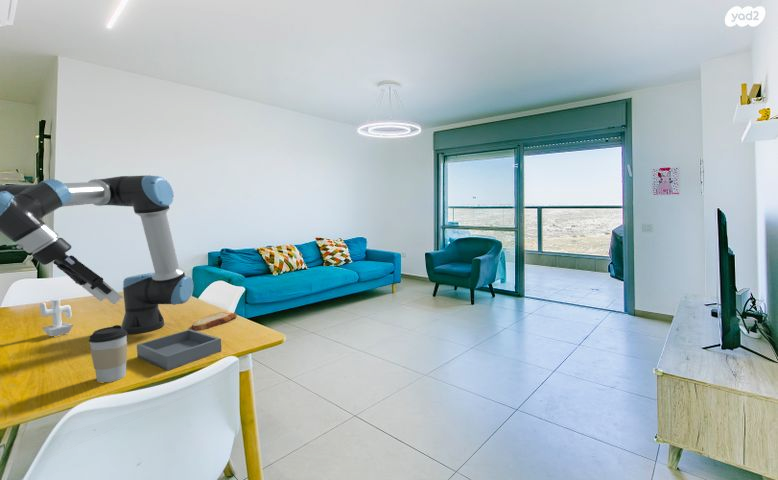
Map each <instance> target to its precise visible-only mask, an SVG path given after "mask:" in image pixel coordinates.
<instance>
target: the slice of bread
mask: <svg viewBox="0 0 778 480" xmlns="http://www.w3.org/2000/svg"><path fill="white" fill-rule="evenodd" d="M237 317H238V314H237V313H236V312H230V313H228V312H224V311H218V312H216V313H212V314H209V315H207V316H204V317H201V318H200V319H198V320H196V321H195V322H193V324H192V325H191V328H190V329H191V330H194V331H197V332H200V331H204V330H207V329H211V328H214V327H217V326H220V325H223V324H226V323H229V321H232V320H235V319H236V318H237ZM225 322H226V323H225Z"/></svg>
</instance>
